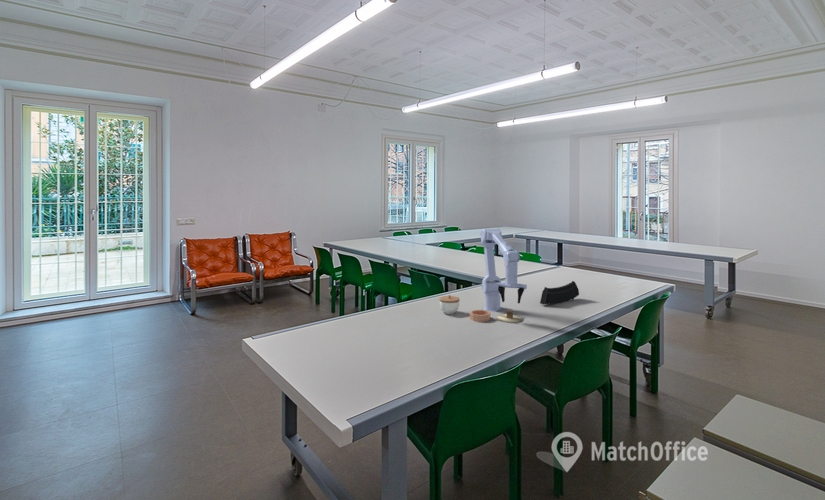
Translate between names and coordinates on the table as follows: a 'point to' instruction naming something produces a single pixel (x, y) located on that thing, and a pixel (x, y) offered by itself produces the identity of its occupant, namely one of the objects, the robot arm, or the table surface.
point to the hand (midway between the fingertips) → (511, 302)
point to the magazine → (559, 294)
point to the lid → (509, 317)
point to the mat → (508, 322)
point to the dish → (480, 315)
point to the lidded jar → (449, 304)
